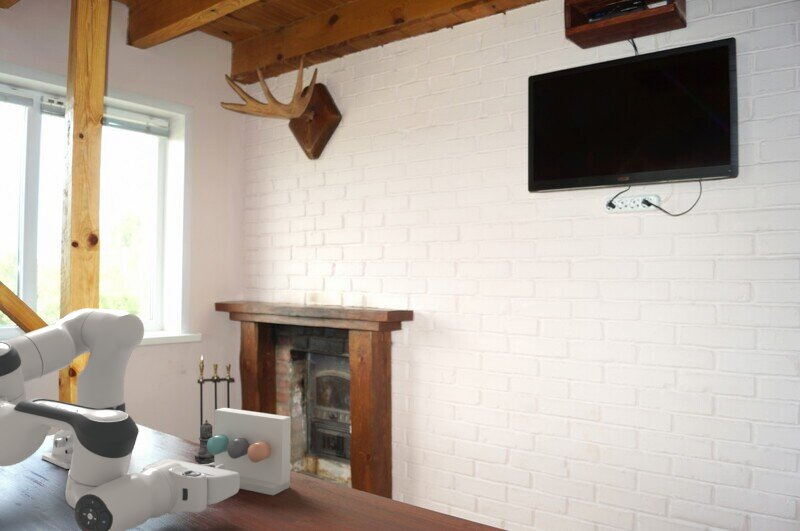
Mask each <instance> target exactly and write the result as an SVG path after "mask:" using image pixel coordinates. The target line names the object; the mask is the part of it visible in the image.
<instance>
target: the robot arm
mask: <svg viewBox="0 0 800 531" xmlns="http://www.w3.org/2000/svg"><path fill="white" fill-rule="evenodd" d="M144 335H145V327H144V324H143V320H141V318H140V317H139V316H138V315H136V314H134V313H131V312H129V311H126V310H122V309H110V308H93V307H92V308H90V307H85V308H81V309H76V310H74V311H70V312H68V313H66V315H65V316H64V317H62V318H61V319H58V320H57V321H55V322H53V323H51V324H49V325H47V326H43V327H41V328H39V329H35V330H32V331H29V332H26V333H23V334H20V335H18V336H15V337H11V338H10V339H8V340H5V341H0V467H10V466H14V465H15V466H16V465H17V464H20V463H22V462H24V461H27V459H29V458H31V456H33V455H34V454H35V453H36V452H37V451H38V450H39V449H40V448H41V447H42V446H43V444H44V442H45V439H46V437H47V436H48V434H49V432H50V430H51V429H52V428H53V429H57V430H58V431H57V432H56V433H55V434H54V436H53V441H52V442H53V443H52V450H49V451H47V452H44V453H43V454H42V455H41V456H42V457H41V459H43V460H45V461H47V462H48V463H49V462H50V463H51V464H54V465H56V466H58V467H61V468H63V469H65V470H67V469H69V471H68V475H67V481H66V486H65V494H64V500H65V503H66V504H67V505H68V506H69V508H71V510H73V512H74V518H75V522H76V525H77V527H78V528H79V529H80V530H81V531H129V530H132V529H134V528H136V527H138V526H141V525H143V524H145V523H146V522H147V521H148V520H149V519H157V518H160V517H163V516H165V515H167V514H169V515H171V514H172V515H173V514H176V513H201V512H203V511H205V510H207V506H209V505H215V504H217V503H220V502H222V501H224V500H226V499H229V498H230V497H232V496H234V495H236V494H238V493H239V491H240V488H239V487H240V475H239V473H238V472H234V471H229V470H225V465H224V464H219V463H214V462H213V463H210V464H202V465H200V464H198V463H192V462H188V461H184V460H178V459H173V458H163V459H159V460H157V461H154V462H152V463H150V464H146V465H145V466H144V467H143V468H142V470H141V471H140V472H137V473H130V472H129V469H130V464H131V459H132V454H133V451H134V449H135V445H136V442H137V438H138V435H139V432H140V431H139V427H138V425H137V424H136V422H135V421H134V419H133V418H132V417H131V415H129V413H127V412H126V410H127V409H126V408H127V407H126V402H125V401H124V397H125V395H124V394H125V393H124V392H125V375H126V370H127V365H128V363H129V360H130V357H131V355H132V353H133V351H134V350H135V349H136V348H137V347H138V346H139V345H140V344H141V343H142V340H143V338H144ZM87 353H89V354H88V358H87V362H86V365H85V366H84V368H83V369H82V370H81V371H80V372H79V373H78V375H77V376H76V377H77V378H76V403H71V402H66V401H63V400H62V401H61V400H56V399H49V398H44V397H42V398H40V397H38V398H30V399H29V398H28V399H27V390H26V389H27V388H26V385H25V384H29V383H32V382H33V381H37V380H39V379H42V378H44V377H46V376H49V375H51V374H53V373H57V372H58V371H60V370H63V369H66V368H68V367H69V366H71V365H72V363H73V362H74V360H75V359H77V358H78V357H80V356H82V355H84V354H87Z"/></svg>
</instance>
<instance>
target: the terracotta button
mask: <svg viewBox="0 0 800 531" xmlns="http://www.w3.org/2000/svg"><path fill="white" fill-rule="evenodd" d="M270 453H271V449H270V446H269V444H268V443H267V442H265V441H261V442H258V443H255V444H252V445H250V447H249V448H248V457H249V459H250V460H251V461H252V462H254V463H257V462H260V461H262V460H265V459H267V458H268V457H269V456H270Z"/></svg>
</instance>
